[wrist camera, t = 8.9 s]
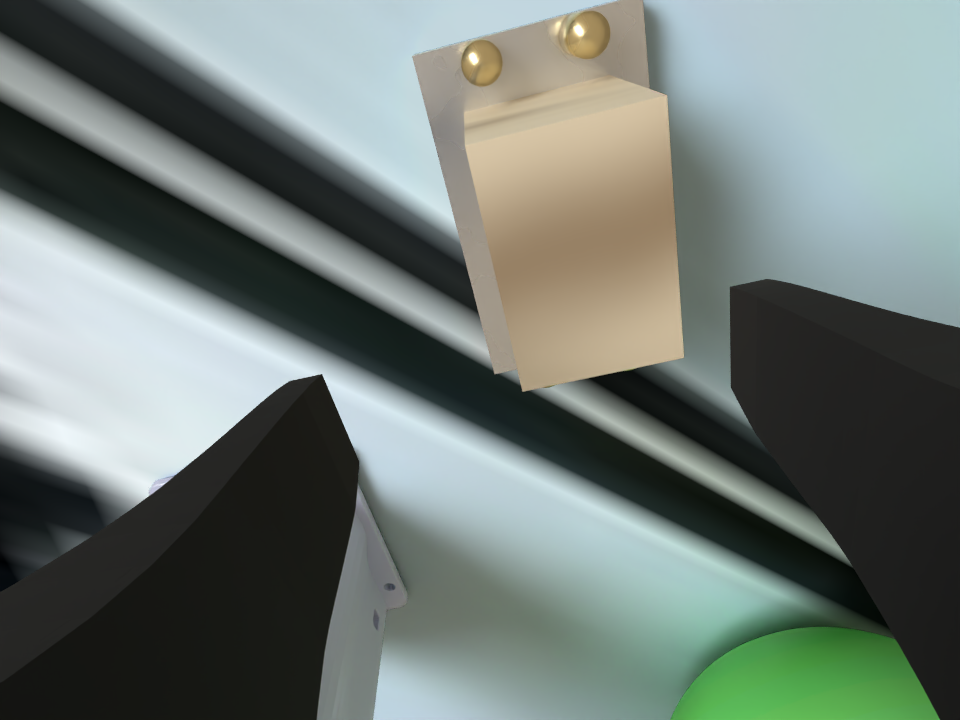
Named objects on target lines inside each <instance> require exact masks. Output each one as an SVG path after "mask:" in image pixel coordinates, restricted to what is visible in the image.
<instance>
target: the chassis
mask: <svg viewBox="0 0 960 720" xmlns="http://www.w3.org/2000/svg"><path fill="white" fill-rule="evenodd" d="M412 57H413V61H414V65H415V69H416V73H417V76H418V80H419V84H420V88H421V92H422V96H423V100H424V103H425V107H426V111H427V115H428V119H429V123H430V126H431V130H432V134H433V138H434V142H435V146H436V150H437V153H438V157H439V161H440V165H441V169H442V173H443V177H444V180H445V184H446V188H447V192H448V196H449V200H450V204H451V207H452V211H453V215H454V219H455V223H456V227H457V230H458V234H459V238H460V242H461V246H462V250H463V254H464V257H465V261H466V265H467V269H468V273H469V277H470V281H471V284H472V288H473V292H474V296H475V300H476V304H477V308H478V311H479V315H480V319H481V323H482V327H483V331H484V335H485V338H486V342H487V346H488V350H489V354H490V358H491V361H492V365H493V369H494V373H495V374H497V373H502V372H506V371H511V370H516V369H517V366H516V361H515V357H514V353H513V349H512V344H511V340H510V336H509V331H508V327H507V323H506V319H505V314H504V310H503V306H502V302H501V297H500V293H499V289H498V285H497V280H496V276H495V272H494V268H493V263H492V259H491V255H490V251H489V246H488V242H487V238H486V234H485V229H484V225H483V221H482V217H481V212H480V208H479V204H478V200H477V195H476V191H475V187H474V183H473V178H472V174H471V170H470V165H469V161H468V157H467V153H466V148H465V132H464V112H467V111H471V110H475V109H479V108H483V107H487V106H491V105H495V104H499V103H503V102H506V101H510V100H514V99H518V98H522V97H526V96H530V95H534V94H538V93H542V92H546V91H549V90H553V89H557V88H561V87H565V86H569V85H573V84H577V83H581V82H585V81H588V80H592V79H596V78H600V77H604V76H608V75H611V76H614V77H617V78H620V79H622V80H625V81H628V82H631V83H634V84H637V85H640V86H642V87H645V88H648V89H650V86H649V74H648V61H647V48H646V35H645V22H644V10H643V0H616V1H612V2H608V3H605V4H601V5H597V6H594V7H590V8H586V9H582V10H579V11H575V12H571V13H567V14H564V15H560V16H556V17H552V18H549V19H545V20H541V21H538V22H534V23H530V24H526V25H523V26H519V27H515V28H511V29H508V30H504V31H500V32H496V33H493V34H489V35H485V36H482V37H478V38H474V39H470V40H467V41H463V42H459V43H455V44H452V45H448V46H444V47H440V48H437V49H433V50H429V51H426V52H422V53H418V54H415V55H413V56H412ZM633 369H635V368H633ZM633 369H628V370H624V371H629V370H633ZM552 386H554V385H552ZM552 386H547V387H542V388H548V387H552Z"/></svg>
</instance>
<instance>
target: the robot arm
mask: <svg viewBox="0 0 960 720" xmlns="http://www.w3.org/2000/svg"><path fill="white" fill-rule="evenodd" d="M730 346H731V388H732V390H733V392H734V394H735V396H736V398H737V400H738V402H739V404H740V406H741V408H742V410H743V412H744V414H745V415H746V417H747V419H748V421H749V423H750V424H751V426H752V428H753V430H754V431H755V433H756V435H757V436H758V437H759V439H760V440H761V442H762V443H763V444H764V446H765V447H766V448H767V450H768V451H769V452H770V454H771V455H772V456H773V458H774V459H775V461H776V462H777V463H778V465H779V466H780V467H781V469H782V470H783V471H784V473H785V474H786V475H787V477H788V478H789V479H790V481H791V482H792V483H793V485H794V486H795V487H796V488H797V490H798V491H799V492H800V494H801V495H802V496H803V498H804V499H805V500H806V502H807V503H808V504H809V506H810V507H811V508H812V510H813V511H814V512H815V514H816V515H817V516H818V518H819V519H820V520H821V522H822V523H823V524H824V526H825V527H826V528H827V530H828V531H829V532H830V534H831V535H832V536H833V538H834V539H835V541H836V542H837V544H838V545H839V546H840V548H841V549H842V551H843V552H844V554H845V555H846V557H847V558H848V560H849V561H850V563H851V564H852V566H853V568H854V569H855V571H856V573H857V574H858V576H859V578H860V579H861V581H862V583H863V584H864V586H865V588H866V589H867V591H868V593H869V594H870V596H871V598H872V599H873V601H874V603H875V604H876V606H877V608H878V609H879V611H880V613H881V614H882V616H883V618H884V620H885V621H886V623H887V625H888V627H889V628H890V630H891V632H892V634H893V635H894V637H895V639H896V641H897V643H898V644H899V646H900V648H901V650H902V651H903V653H904V655H905V657H906V658H907V660H908V662H909V664H910V666H911V667H912V669H913V671H914V673H915V674H916V676H917V678H918V680H919V681H920V683H921V685H922V687H923V689H924V691H925V693H926V694H927V696H928V698H929V700H930V702H931V704H932V706H933V708H934V709H935V711H936V713H937V715H938V717H939V719H940V720H960V328H958V327H954V326H950V325H945V324H941V323H937V322H932V321H928V320H924V319H919V318H916V317H912V316H908V315H904V314H900V313H896V312H892V311H889V310H885V309H881V308H877V307H874V306H870V305H867V304H863V303H859V302H856V301H852V300H849V299H845V298H842V297H838V296H835V295H831V294H828V293H824V292H821V291H817V290H814V289H810V288H806V287H802V286H799V285H795V284H791V283H786V282H782V281H777V280H770V279H765V280H760V281H756V282H751V283H746V284H742V285H737V286H732V287H730ZM358 472H359V460H358V458H357V456H356V453H355V451H354V448H353V446H352V444H351V441H350V439H349V437H348V434H347V432H346V430H345V427H344V425H343V423H342V420H341V418H340V416H339V413H338V411H337V408H336V406H335V404H334V401H333V399H332V397H331V394H330V392H329V390H328V387H327V385H326V383H325V380H324V378H323V376H322V374H321V375H316V376H312V377H307V378H302V379H298V380H293V381H289V382H288V383H286V384H285V385H283V386H282V387H280V388H279V389H278V390H276V391H275V392H274V393H272V394H271V395H270V396H269V397H267V398H266V399H265V400H264V401H263V402H261V403H260V404H259V405H258V406H257V407H256V408H254V409H253V410H252V411H251V412H250V413H249V414H248V415H246V416H245V417H244V418H243V419H242V420H241V421H239V422H238V423H237V424H236V425H235V426H234V427H233V428H231V429H230V430H229V431H228V432H227V433H226V434H225V435H223V436H222V437H221V438H220V439H219V440H218V441H216V442H215V443H214V444H213V445H212V446H211V447H210V448H208V449H207V450H206V451H205V452H204V453H202V454H201V455H200V456H199V457H197V458H196V459H195V460H194V461H192V462H191V463H190V464H189V465H188V466H186V467H185V468H184V469H183V470H181V471H180V472H179V473H178V474H176V475H175V476H174V477H170V478H165V479H160V480H157V481H155V482H154V483H153V484H152V486H151V487H150V489H149V495H150V496H149V497H147V498H146V499H145V500H143V501H142V502H141V503H139V504H138V505H136V506H135V507H134V508H132V509H131V510H130V511H128V512H127V513H125V514H124V515H122V516H121V517H120V518H118V519H117V520H115V521H114V522H112V523H111V524H109V525H108V526H107V527H105V528H104V529H102V530H101V531H99V532H98V533H96V534H95V535H93V536H92V537H90V538H89V539H87V540H86V541H84V542H83V543H81V544H79V545H78V546H76V547H75V548H73V549H71V550H70V551H68V552H66V553H65V554H63V555H61V556H60V557H58V558H57V559H55V560H53V561H52V562H50V563H48V564H47V565H45V566H44V567H42V568H40V569H39V570H37V571H35V572H34V573H32V574H30V575H29V576H27V577H26V578H24V579H22V580H21V581H19V582H17V583H16V584H14V585H12V586H11V587H9V588H7V589H5V590H4V591H2V592H0V720H373V716H374V708H375V700H376V692H377V684H378V676H379V669H380V661H381V653H382V645H383V637H384V629H385V621H386V613H387V610H389V609H395V608H400V607H403V606H404V605H405V604H406V603H407V599H408V594H407V591H406V589H405V587H404V584H403V582H402V580H401V578H400V575H399V573H398V571H397V569H396V567H395V564H394V562H393V560H392V558H391V555H390V553H389V551H388V549H387V547H386V544H385V542H384V540H383V538H382V535H381V533H380V531H379V529H378V527H377V524H376V522H375V520H374V518H373V515H372V513H371V511H370V509H369V507H368V504H367V502H366V500H365V498H364V495H363V493H362V491H361V489H360V487H359V484H358ZM389 583H391V584H389Z"/></svg>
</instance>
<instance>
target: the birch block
mask: <svg viewBox="0 0 960 720" xmlns="http://www.w3.org/2000/svg"><path fill="white" fill-rule="evenodd" d="M464 132H465V148H466V153H467V157H468V161H469V165H470V170H471V174H472V178H473V183H474V187H475V191H476V195H477V200H478V204H479V208H480V212H481V217H482V221H483V225H484V229H485V234H486V238H487V242H488V246H489V251H490V255H491V259H492V263H493V268H494V272H495V276H496V280H497V285H498V289H499V293H500V297H501V302H502V306H503V310H504V314H505V319H506V323H507V327H508V331H509V336H510V340H511V344H512V349H513V353H514V357H515V361H516V366H517V370H518V374H519V378H520V383H521V387H522V391H528V390H533V389H538V388H542V387H547V386H552V385H557V384H562V383H566V382H571V381H576V380H581V379H585V378H590V377H595V376H600V375H605V374H609V373H614V372H619V371H624V370H628V369H633V368H638V367H643V366H648V365H652V364H657V363H662V362H667V361H671V360H676V359H681V358H684V350H683V335H682V319H681V304H680V288H679V273H678V257H677V242H676V227H675V211H674V196H673V180H672V165H671V149H670V134H669V118H668V103H667V95H665V94H662V93H660V92H657V91H654V90H651V89H648V88H645V87H642V86H640V85H637V84H634V83H631V82H628V81H625V80H622V79H620V78H617V77H614V76H611V75H608V76H604V77H600V78H596V79H592V80H588V81H585V82H581V83H577V84H573V85H569V86H565V87H561V88H557V89H553V90H549V91H546V92H542V93H538V94H534V95H530V96H526V97H522V98H518V99H514V100H510V101H506V102H503V103H499V104H495V105H491V106H487V107H483V108H479V109H475V110H471V111H467V112H464Z"/></svg>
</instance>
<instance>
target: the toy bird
mask: <svg viewBox="0 0 960 720" xmlns="http://www.w3.org/2000/svg"><path fill="white" fill-rule="evenodd" d="M670 720H940V719H939V717H938V715H937V713H936V711H935V709H934V708H933V706H932V704H931V702H930V700H929V698H928V696H927V694H926V693H925V691H924V689H923V687H922V685H921V683H920V681H919V680H918V678H917V676H916V674H915V673H914V671H913V669H912V667H911V666H910V664H909V662H908V660H907V658H906V657H905V655H904V653H903V651H902V650H901V648H900V646H899V644H898V643H897V641H896V639H893V638H889V637H886V636H883V635H879V634H875V633H871V632H866V631H861V630H856V629H849V628H839V627H805V628H796V629H790V630H785V631H780V632H776V633H772V634H768V635H765V636H762V637H759V638H756V639H754V640H751V641H749V642H747V643H744V644H742V645H740V646H738V647H736V648H734V649H733V650H731V651H729V652H727V653H726V654H724V655H723V656H721V657H720V658H718V659H717V660H716V661H714V662H713V663H712V664H711V665H710V666H708V667H707V668H706V669H705V670H704V671H703V672H702V673H701V674H700V675H699V676H698V677H697V678H696V679H695V681H694V682H693V683H692V684H691V685H690V687H689V688H688V689H687V691H686V692H685V694H684V695H683V697H682V698H681V700H680V701H679V703H678V705H677V707H676V709H675V711H674V713H673V715H672V717H671V719H670Z"/></svg>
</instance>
